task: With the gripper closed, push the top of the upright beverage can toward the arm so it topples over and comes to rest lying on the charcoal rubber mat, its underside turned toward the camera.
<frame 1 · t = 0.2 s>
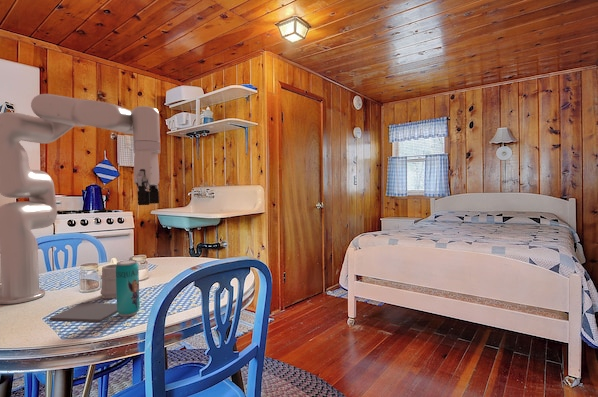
hand: (149, 204, 104), 31 cm above the table, fingers open, 9 cm apart
mat: (91, 312, 98), on the table
beverage can: (128, 314, 96), on the table
mug: (120, 294, 115), on the table
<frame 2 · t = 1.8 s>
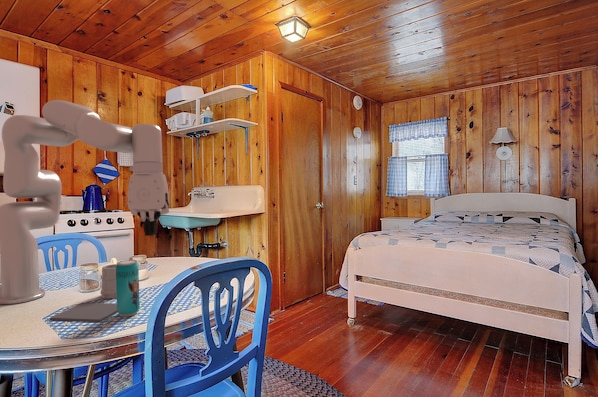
hand: (150, 234, 95), 23 cm above the table, fingers closed
nothing on the table moved.
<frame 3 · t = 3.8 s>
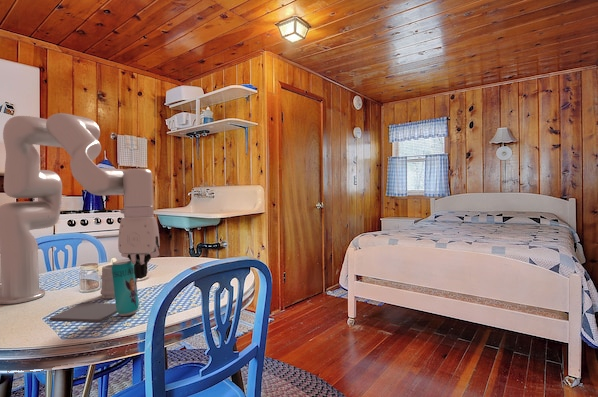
hand: (141, 277, 96), 11 cm above the table, fingers closed
beverage can: (128, 313, 96), on the table, touching gripper
everything else where it was.
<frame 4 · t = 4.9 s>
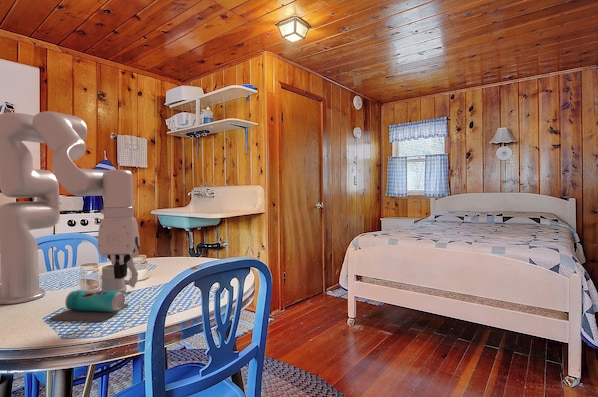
hand: (120, 277, 96), 10 cm above the table, fingers closed
beverage can: (120, 301, 97), point 3 cm above the table, touching mat
everything else where it was.
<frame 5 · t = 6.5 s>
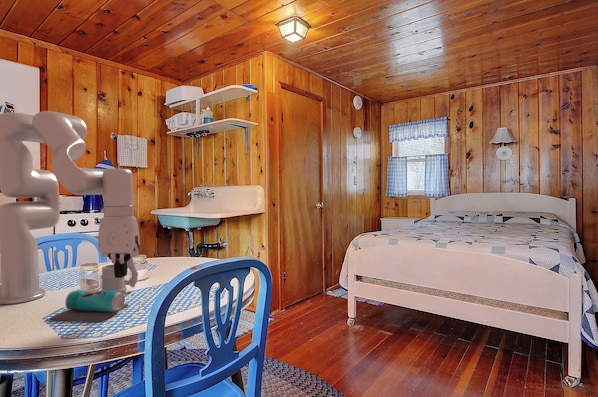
hand: (121, 276, 96), 11 cm above the table, fingers closed
nothing on the table moved.
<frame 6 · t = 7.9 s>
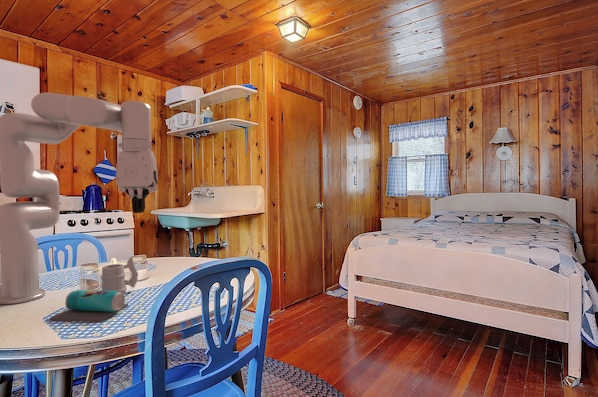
hand: (138, 212, 95), 29 cm above the table, fingers closed
nothing on the table moved.
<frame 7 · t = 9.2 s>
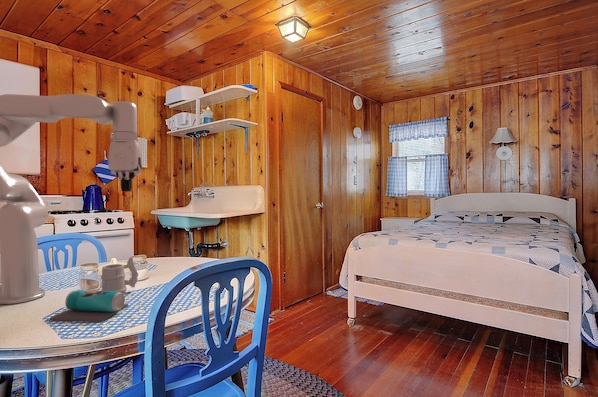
hand: (126, 191, 118), 35 cm above the table, fingers closed
nothing on the table moved.
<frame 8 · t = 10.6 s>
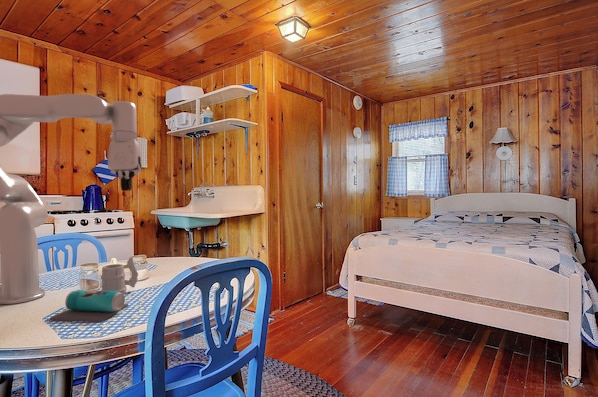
hand: (126, 190, 119), 35 cm above the table, fingers closed
nothing on the table moved.
at the end: beverage can tilted 90°; beverage can inside the target area (1.7 cm from its centre), point 3.5 cm above the table; the gripper is holding nothing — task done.
